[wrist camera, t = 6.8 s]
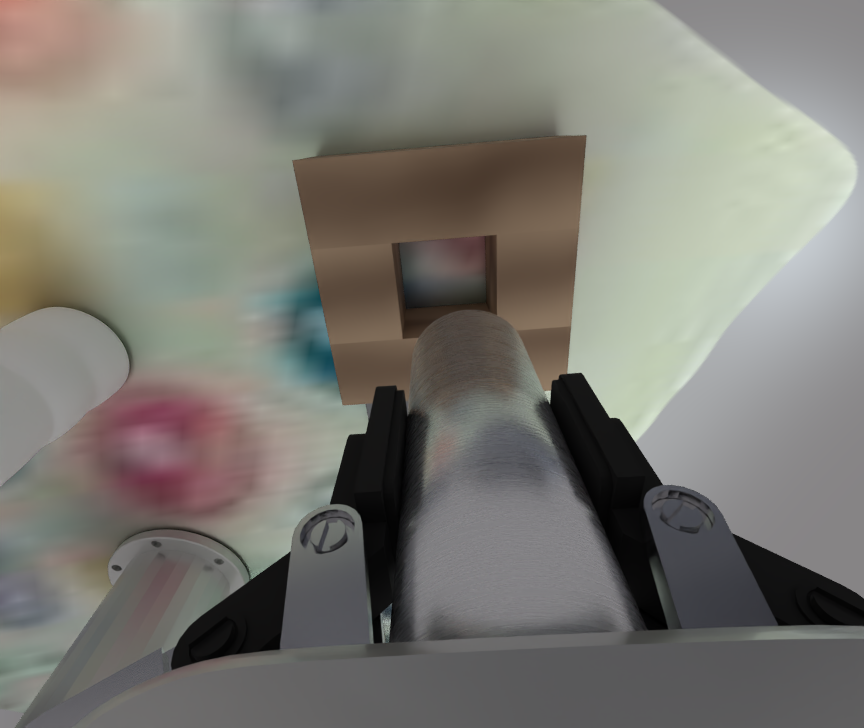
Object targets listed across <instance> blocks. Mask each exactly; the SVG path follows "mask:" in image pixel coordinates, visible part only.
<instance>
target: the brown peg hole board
mask: <svg viewBox="0 0 864 728" xmlns="http://www.w3.org/2000/svg"><path fill="white" fill-rule="evenodd" d="M585 146H586V135H585V136H550V137H538V138H526V139H515V140H503V141H491V142H480V143H468V144H456V145H444V146H433V147H421V148H409V149H398V150H386V151H374V152H363V153H351V154H339V155H328V156H316V157H310V158H304V159H299V160H293V166H294V171H295V176H296V181H297V186H298V191H299V195H300V200H301V205H302V210H303V215H304V220H305V224H306V229H307V234H308V239H309V244H310V249H311V254H312V258H313V263H314V268H315V273H316V278H317V283H318V288H319V292H320V297H321V302H322V307H323V312H324V317H325V321H326V326H327V331H328V336H329V341H330V346H331V351H332V355H333V360H334V365H335V370H336V375H337V380H338V385H339V389H340V394H341V399H342V404H343V405H355V404H369V403H373V398H374V394H375V389H376V387H378V386H393V385H396V386H397V390H404V392H405V399H406V401H409V390H410V377H411V365H412V355H413V350H414V347H415V344H416V342H417V340H418V338H419V337H420V335H421V334H422V332H423V331H424V330H425V329H426V328H427V327H428V326H429V325H430V324H431V323H433V322H434V321H435V320H437V319H439V318H440V317H442V316H444V315H447V314H449V313H452V312H456V311H461V310H481V311H486V312H490V313H492V314H495V315H497V316H499V317H501V318H503V319H504V320H506V321H507V322H508V323H510V324H511V325H512V326H513V327H514V329H515V330H516V331H517V332H518V334H519V336H520V338H521V339H522V342H523V344H524V346H525V349H526V351H527V353H528V356H529V358H530V360H531V362H532V365H533V367H534V369H535V372H536V374H537V376H538V379H539V381H540V383H541V385H542V388H543V390H544V391H548V390H551V385H552V381H553V380H558V378H559V375H560V374H567V368H568V356H569V344H570V331H571V319H572V307H573V294H574V282H575V269H576V257H577V245H578V232H579V220H580V208H581V195H582V183H583V171H584V158H585ZM477 236H485V259H486V303H474V304H461V305H448V306H435V307H422V308H409V309H406V304H405V295H404V286H403V277H402V268H401V259H400V250H399V243H402V242H415V241H427V240H439V239H452V238H464V237H477Z"/></svg>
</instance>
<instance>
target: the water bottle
mask: <svg viewBox="0 0 864 728" xmlns="http://www.w3.org/2000/svg"><path fill="white" fill-rule="evenodd" d="M128 374H129V359H128V355H127V352H126V349H125V347H124V345H123V344H122V342H121V341H120V339H119V338H118V336H117V335H116V334H115V333H114V332H113V331H112V330H111V329H110V328H109V327H108V326H107V325H105V324H104V323H103V322H101V321H100V320H98V319H97V318H95V317H93V316H91V315H89V314H87V313H84V312H82V311H79V310H75V309H71V308H66V307H48V308H43V309H40V310H37V311H34V312H32V313H29V314H27V315H25V316H23V317H21V318H19V319H17V320H15V321H13V322H11V323H9V324H7V325H6V326H4V327H3V328H1V329H0V486H2V485H3V484H4V483H5V482H6V481H7V480H8V479H10V478H11V477H12V476H13V475H14V474H15V473H16V472H17V471H19V470H20V469H21V468H22V467H23V466H24V465H25V464H26V463H27V462H28V461H29V460H30V459H31V458H32V457H33V456H34V455H35V454H36V453H37V452H38V451H39V450H40V449H41V448H42V447H44V446H46V445H48V444H50V443H51V442H53V441H55V440H56V439H58V438H59V437H61V436H62V435H64V434H65V433H66V432H68V431H69V430H70V429H71V428H72V427H74V426H75V425H76V424H77V423H78V422H79V421H80V420H81V419H82V418H83V417H84V415H85V414H86V413H87V412H88V411H90V410H92V409H94V408H95V407H97V406H98V405H100V404H101V403H103V402H104V401H105V400H107V399H108V398H109V397H111V396H112V395H113V394H114V393H116V392H117V391H118V390H119V389H120V388H121V387H122V386H123V384H124V383H125V381H126V379H127V377H128Z"/></svg>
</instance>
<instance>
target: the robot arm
mask: <svg viewBox="0 0 864 728" xmlns="http://www.w3.org/2000/svg"><path fill="white" fill-rule="evenodd" d="M550 406H551V408H552V411H553V413H554V415H555V418H556V420H557V422H558V425H559V427H560V429H561V431H562V434H563V436H564V438H565V441H566V443H567V445H568V448H569V450H570V452H571V454H572V457H573V459H574V461H575V464H576V466H577V468H578V471H579V473H580V475H581V477H582V480H583V482H584V484H585V487H586V489H587V491H588V494H589V496H590V498H591V500H592V503H593V505H594V507H595V510H596V512H597V514H598V517H599V519H600V521H601V523H602V526H603V528H604V530H605V533H606V535H607V537H608V540H609V542H610V544H611V546H612V549H613V551H614V553H615V556H616V558H617V560H618V563H619V565H620V567H621V570H622V572H623V574H624V576H625V579H626V581H627V583H628V586H629V588H630V590H631V593H632V595H633V597H634V599H635V602H636V604H637V606H638V609H639V611H640V613H641V616H642V618H643V620H644V622H645V625H646V627H647V629H648V631H625V632H602V633H580V634H558V635H536V636H515V637H494V638H473V639H453V640H434V641H415V642H396V643H385V639H384V628H383V617H382V612H383V611H384V610H385V609H386V608H387V607H388V606H389V605H390V604H391V603H392V601H393V589H394V576H395V564H396V551H397V539H398V530H399V518H400V506H401V493H402V481H403V468H404V455H405V443H406V430H407V418H408V415H407V407H406V399H405V392H404V390H397V386H396V385H393V386H378V387H376V389H375V394H374V398H373V403H372V408H371V413H370V417H369V422H368V427H367V432H366V434H353V435H349V436H348V439H347V442H346V446H345V450H344V454H343V457H342V461H341V465H340V469H339V472H338V476H337V480H336V483H335V487H334V491H333V495H332V498H331V502H330V505H326V506H323V507H320V508H317V509H316V510H314V511H312V512H310V513H308V514H307V515H306V516H305V517H304V518H303V519H302V520H301V521H300V522H299V524H298V525H297V527H296V528H295V531H294V534H293V537H292V545H291V552H289V553H288V554H286V555H285V556H284V557H282V558H281V559H279V560H278V561H277V562H275V563H274V564H272V565H271V566H270V567H268V568H267V569H266V570H264V571H263V572H261V573H260V574H259V575H257V576H256V577H254V578H253V579H252V580H250V581H249V575H248V572H247V570H246V568H245V566H244V565H243V563H242V562H241V561H240V559H239V558H238V557H237V556H236V555H235V554H234V553H233V552H232V551H230V550H229V549H227V548H226V547H224V546H223V545H222V544H220V543H218V542H216V541H214V540H212V539H210V538H207V537H204V536H202V535H199V534H195V533H191V532H186V531H181V530H170V529H167V530H152V531H147V532H142V533H139V534H137V535H134V536H132V537H130V538H128V539H127V540H125V541H124V542H123V543H122V544H121V545H120V546H119V547H118V548H117V550H116V551H115V553H114V554H113V555H112V557H111V558H110V561H109V564H108V576H109V578H110V581H111V584H112V586H113V587H112V588H111V589H110V591H109V592H108V594H107V595H106V597H105V598H104V600H103V601H102V602H101V604H100V605H99V607H98V608H97V610H96V611H95V612H94V614H93V615H92V617H91V618H90V620H89V621H88V623H87V624H86V625H85V627H84V628H83V630H82V631H81V633H80V634H79V636H78V637H77V638H76V640H75V641H74V643H73V644H72V646H71V647H70V648H69V650H68V651H67V653H66V654H65V656H64V657H63V659H62V660H61V661H60V663H59V664H58V666H57V667H56V669H55V670H54V671H53V673H52V674H51V676H50V677H49V679H48V680H47V682H46V683H45V684H44V686H43V687H42V689H41V690H40V692H39V693H38V694H37V696H36V697H35V699H34V700H33V702H32V703H31V705H30V706H29V707H28V709H27V710H26V712H25V713H24V715H23V716H22V717H21V719H20V721H19V722H18V723H17V725H16V726H15V728H864V599H863V598H862V597H861V596H859V595H858V594H857V593H855V592H853V591H852V590H850V589H848V588H846V587H845V586H843V585H841V584H839V583H837V582H834V581H832V580H830V579H828V578H826V577H824V576H822V575H820V574H818V573H815V572H813V571H811V570H809V569H807V568H805V567H802V566H800V565H798V564H796V563H794V562H792V561H790V560H788V559H786V558H783V557H781V556H779V555H777V554H775V553H773V552H771V551H769V550H767V549H764V548H762V547H760V546H758V545H756V544H754V543H752V542H750V541H747V540H745V539H743V538H741V537H739V536H737V535H735V534H733V533H731V531H730V529H729V527H728V525H727V523H726V521H725V519H724V517H723V515H722V513H721V512H720V510H719V509H718V507H717V506H716V505H715V504H714V503H712V502H711V501H710V500H709V499H708V498H707V497H705V496H703V495H701V494H700V493H698V492H696V491H694V490H691V489H688V488H685V487H681V486H675V485H663V484H662V483H661V481H660V480H659V478H658V477H657V475H656V473H655V472H654V471H653V469H652V467H651V466H650V464H649V463H648V462H647V460H646V458H645V457H644V455H643V454H642V452H641V451H640V449H639V447H638V446H637V444H636V443H635V441H634V440H633V438H632V437H631V435H630V434H629V432H628V431H627V429H626V428H625V426H624V424H623V423H622V422H621V421H620V419H618V418H609V416H608V414H607V413H606V411H605V410H604V408H603V406H602V405H601V403H600V402H599V400H598V398H597V397H596V395H595V393H594V392H593V390H592V389H591V387H590V385H589V384H588V382H587V381H586V379H585V377H584V376H583V374H582V373H572V374H560V375H559V378H558V380H553V381H552V385H551V400H550Z"/></svg>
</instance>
